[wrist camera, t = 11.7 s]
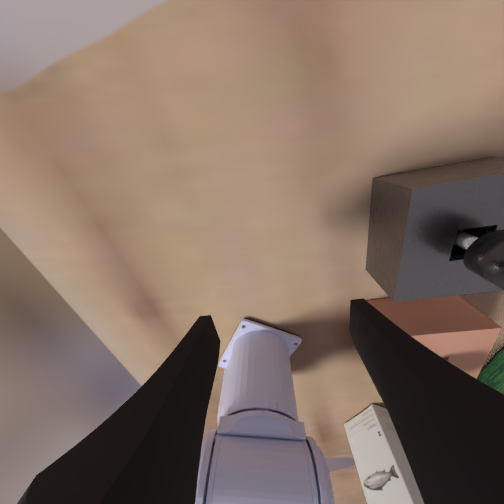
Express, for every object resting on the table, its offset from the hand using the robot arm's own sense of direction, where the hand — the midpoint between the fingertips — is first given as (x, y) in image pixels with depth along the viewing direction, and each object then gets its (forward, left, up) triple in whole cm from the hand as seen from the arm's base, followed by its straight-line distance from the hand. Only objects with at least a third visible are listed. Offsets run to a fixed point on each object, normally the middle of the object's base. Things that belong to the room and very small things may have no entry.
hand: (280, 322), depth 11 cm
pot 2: (-4, -19, -10) cm, 22 cm away
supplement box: (-22, -29, -11) cm, 38 cm away
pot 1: (+7, -12, -10) cm, 17 cm away
